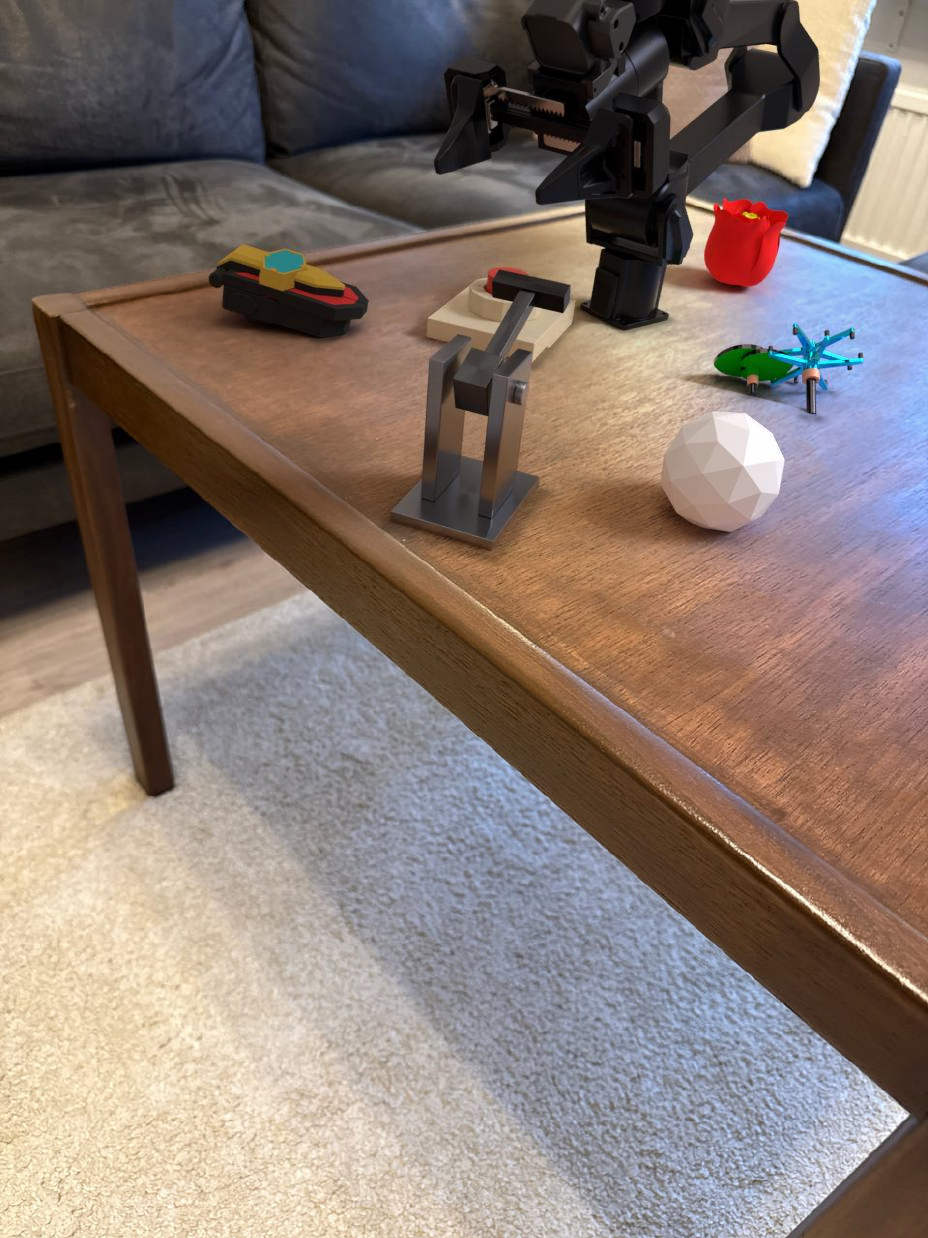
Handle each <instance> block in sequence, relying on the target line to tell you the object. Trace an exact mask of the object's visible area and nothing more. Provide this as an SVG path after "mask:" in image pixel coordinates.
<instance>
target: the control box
mask: <svg viewBox="0 0 928 1238" xmlns="http://www.w3.org/2000/svg"><path fill="white" fill-rule="evenodd" d="M487 278H488V276H487V277H482V278H477V279H475V280H474V281H473V282H471V283H470V284H469V285H468V286H467V287H466V288H464V289H463V290H462V291H460V292H459V293H458V294H456V295H455V296H454V297H453V298H451V299H449V301H448V302H446V303H445V304H443V305H442V306H441V307H440V308H438V309H437V310H436V311H435V312H433V313H432V314H431V315H429V317H427V319H426V320H427V323H426V335H425V336H426V338H428V339H429V338H430V339H434V340H438V341H443V342H446V343H448V342H449V341H450V340H451V339H452V338H454V337H455V336H456V335H457V334H460V335H465V336H469V337H472V342H471V349H473V350H478V351H482V352H484V351H485V349H486V348H487V346H488V344H489V342H490V341H491V339H492V337H493V335H494V334H495V332H496V330H497V329H498V327H499V325H500V323H501V322H502V320H503V318H504V316H505V315H506V313H507V311H508V309H509V308H510V306H511V304H512V303H513V302H510V301H506V300H502V299H497V298H493V297H492V295H491V294H489V293H488V292H486V288H487ZM576 303H577V302H576V300H575V299H570V302H569V304H568V306H567V308H566V310H565V312H564V313H559V312H554V311H550V310H546V309H541V308H537V307H534V308H533V310H532V312H531V313H530V315H529V317H528V319H527V321H526V322H525V324H524V326H523V328H522V330H521V331H520V333H519V335H518V337H517V339H516V340H515V342H514V344H513V346H512V347H511V349H510V351H509V353H508V355H507V356H506V358H507V357H508V358H509V357H510V356H511V355H512V354H513V353H514V352H515V351H516V350H517V349H523V350H527V351H531V352H533V355H532V362H531V363H533V362H534V361H535V360H536V359H537V358H538V357H539V356H540V355H541V354H542V353H543V352H544V351H545V349H546V348H551V347H552V346H553V344H554V343H555V342H556V341H557V340H558V339H559V337H561V336H562V335H563V334H564V332H565V331H566V330H567V329H568V328H569V327H570V326H571V325H572V324H573V321H574V320H573V319H574V314H575V307H576Z"/></svg>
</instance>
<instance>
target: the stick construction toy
mask: <svg viewBox="0 0 928 1238" xmlns="http://www.w3.org/2000/svg"><path fill="white" fill-rule="evenodd" d="M855 331H856V330H855V328H854V327H849V328H847V329H845V330H843V331H841V332H838V333H836V334H834V335H832V336H830V333H831V332H830V330H829V329H826V330H824V332H823V333H824V334H823V335H824V337H823V338H822V340H821V341H818V342H816V341H815V340H813V339H809V338H808V336H807V335H806V334H805V332H804V331H803V329H802V328H801V327H800V325H799V324H798V323H793V324H792V335H793V336H796V337H797V339H798V341H799V343H800V345H801V347H795V348H787V349H775V348H774V346H773V345H769V346H768V347H767V348H764V347H762V346H761V345H757V344H752V343H744V344H743V343H741V344H736V345H733V346H730V347H727V348H725V349H724V350H722V351H720V352H718V354H717V355H716V356H715V357H714V359H713V366H714V368H715V369H716V370H717V371H718V372H720V373H722V374H723V375H726V376H729V377H733V378H734V377H735V378H742V379H744V380H746V387H747V388H748V395H749V396H750V397H754V396H756V395H757V392H758V391H757V389H758V387H759V384H760V383H759V382H761V383H762V382H768V381H769V386H770V387H775V386H778V385H780V384H782V383H785V382H787V381H790V380H791V379H793V384H794V385H797V384H799V377H800V376H801V382H802V384H803V385H805V411H806V413H808V414H811V415H815V416H817V385H818V386H819V387H820V388H821V390H822V391H824V392H825V391H828V387H829V386H828V379H824V377H823V375H822V373H821V371H820V370H822V369H823V370H824V369H831V368H841V367H846V370H847V371H852V370H853V366H858V365H859V366H860V365H863V364H864V353H863V352H858V353H857V358H848V357H845V356H842V355H840V354H836V353H834V352H831V351H827V350H826V349H827V348H828V347H830V346H832V345H834V344H836V343H838V342H840V341H842V340H844V339H845V338H847V337H849V340H851V341H853V340H855V338H856V337H855V333H856V332H855ZM799 356H801V357H800V358H799ZM821 359H823V360H821ZM794 366H796V368H793V367H794Z"/></svg>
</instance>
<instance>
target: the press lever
mask: <svg viewBox="0 0 928 1238" xmlns="http://www.w3.org/2000/svg"><path fill="white" fill-rule="evenodd" d="M571 285H572V284H569V283H564V282H559V281H556V280H551V279H546V278H541V277H537V276H532V275H529V274H527V275H524V274H519V273H515V272H510V271H506V270H501V269H499V270H498V272H497V273H496V275H495V277H494V278H493V280H492V297H493V298H497V299H502V300H506V301H510V302H513V303H512V304H511V306H510V308H509V309H508V311H507V313H506V315H505V316H504V318H503V320H502V322H501V323H500V325H499V327H498V329H497V330H496V332H495V334H494V335H493V337H492V339H491V341H490V342H489V344H488V346H487V348H486V349H485V351H482V350H478V349H474V348H471V349H470V351H469V353H468V354H467V356H466V358H465V359H464V361H463V363H462V364H461V366H460V368H459V370H458V371H457V373H456V375H455V376H454V378H453V386H454V398H455V408H457V409H461V410H465V412H469V413H472V414H477V415H481V416H484V417H488V413H489V403H490V394H491V384H492V375H493V373H494V372H495V371H496V370H497V369H498V368H499V367H500V366H501V365H502V364H503V363H504V362H505V361H506V359H507V355H508V353H509V351H510V349H511V347H512V346H513V344H514V342H515V340H516V339H517V337H518V335H519V333H520V331H521V330H522V328H523V326H524V324H525V322H526V321H527V319H528V317H529V315H530V313H531V312H532V310H533V308H534V307H537V308H541V309H546V310H550V311H554V312H559V313H564V312H565V310H566V308H567V306H568V304H569V302H570V300H571V287H572V286H571Z"/></svg>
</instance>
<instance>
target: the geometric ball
mask: <svg viewBox="0 0 928 1238" xmlns="http://www.w3.org/2000/svg"><path fill="white" fill-rule="evenodd" d="M785 461H786V459H785V458H784V455H783V453H782V451H781V449H780V446H779V445H778V442H777V440H776V438H775V436H774V434H773V432H771V431H770V430H769V429H767V428H766V426H763V425H762V424H761V423H759V422H758V421H756V420H755V419H754V418H753V417H751V416H750V415H749V414H747V413H746V412H734V411H733V412H731V411H716V410H715V411H714V410H712V411H710V412H707V413H705V414H703V415H701V416H699V417H697V418H695V419H693V420H691V421H689V422H687V423H685V424H683V425H681V427H680V428H679V430H678V432H677V433H676V435H675V437H674V438H673V439H672V441H671V443H670V444H669V446H668V447H667V449H666V451H665V452H664V454H663V461H662V468H661V475H660V482H659V484H660V486H661V488H662V489H663V491H664V493H665V495H666V497H667V498H668V500H669V502H670V504H671V505H672V507H673V509H674V511H675V513H676V514H678V515H679V516H680V517H682V518H683V519H685V520H686V521H688V522H689V523H690V524H693V525H695V526H698V527H700V528H702V529H708V530H715V531H722V532H727V533H731V532H734V531H736V530H738V529H740V528H742V527H744V526H746V525H749V524H750V523H753V522H755V521H756V520H759V519H761V518H762V516H763V515H764V513H765V512H766V511H767V510H768V509H769V507H770V506H771V505H772V504H773V502H774V501H775V500H776V498H778V496H779V494H780V489H781V484H782V478H783V473H784V467H785Z"/></svg>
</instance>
